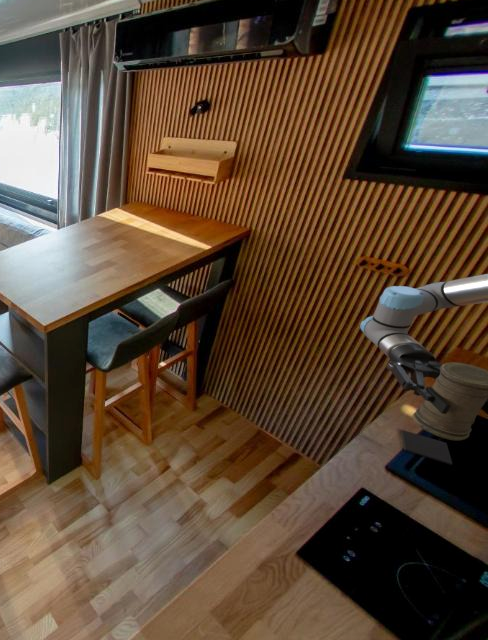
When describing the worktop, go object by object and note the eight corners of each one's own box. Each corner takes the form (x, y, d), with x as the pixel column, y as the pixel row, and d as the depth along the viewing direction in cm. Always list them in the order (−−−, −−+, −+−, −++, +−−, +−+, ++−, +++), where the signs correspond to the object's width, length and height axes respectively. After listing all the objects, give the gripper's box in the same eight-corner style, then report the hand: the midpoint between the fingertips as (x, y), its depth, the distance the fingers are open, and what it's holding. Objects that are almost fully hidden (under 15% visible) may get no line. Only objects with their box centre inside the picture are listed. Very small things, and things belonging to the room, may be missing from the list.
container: (458, 446, 88) (495, 392, 80) (404, 422, 95) (432, 370, 88) (475, 430, 90) (511, 376, 83) (421, 408, 98) (449, 356, 90)
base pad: (445, 445, 99) (446, 442, 99) (451, 466, 95) (452, 463, 94) (400, 432, 105) (401, 429, 104) (403, 451, 100) (405, 448, 99)
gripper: (453, 367, 101) (531, 432, 82) (354, 359, 109) (404, 416, 90) (465, 346, 97) (549, 408, 79) (362, 339, 106) (416, 394, 87)
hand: (471, 412), depth 85 cm, fingers closed on container, 8 cm apart
